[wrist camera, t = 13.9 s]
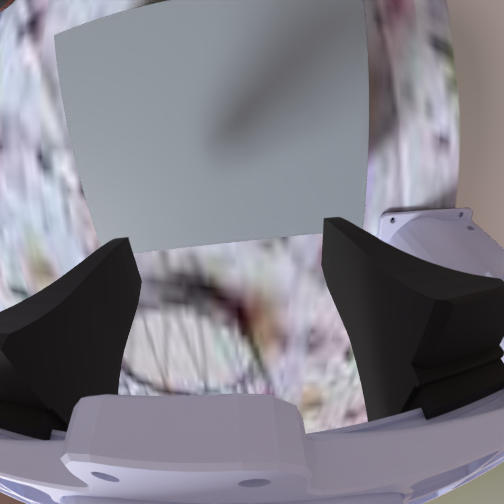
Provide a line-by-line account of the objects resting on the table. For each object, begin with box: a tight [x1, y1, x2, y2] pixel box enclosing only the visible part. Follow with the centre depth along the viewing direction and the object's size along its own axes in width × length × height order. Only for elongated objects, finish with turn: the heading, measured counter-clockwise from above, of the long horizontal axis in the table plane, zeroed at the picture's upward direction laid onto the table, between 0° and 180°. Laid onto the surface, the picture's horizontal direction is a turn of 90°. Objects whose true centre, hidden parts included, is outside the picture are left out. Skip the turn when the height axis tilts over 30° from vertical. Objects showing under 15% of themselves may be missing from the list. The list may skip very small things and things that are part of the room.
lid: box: [54, 0, 369, 253], centre depth 14 cm, size 14×12×1 cm
